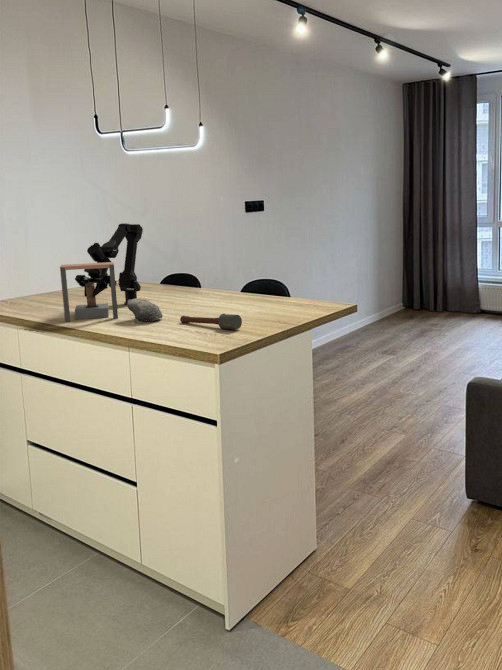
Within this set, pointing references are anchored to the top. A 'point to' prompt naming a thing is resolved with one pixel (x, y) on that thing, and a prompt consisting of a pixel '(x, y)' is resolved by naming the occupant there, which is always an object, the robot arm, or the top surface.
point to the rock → (144, 310)
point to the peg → (90, 295)
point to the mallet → (216, 321)
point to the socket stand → (83, 310)
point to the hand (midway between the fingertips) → (89, 296)
